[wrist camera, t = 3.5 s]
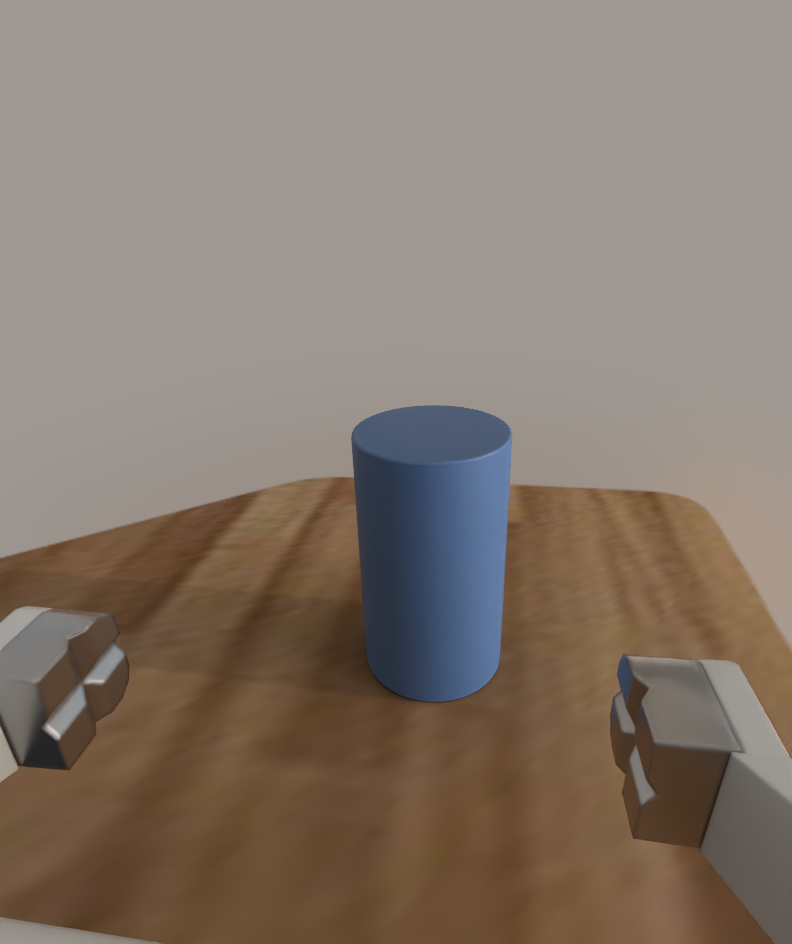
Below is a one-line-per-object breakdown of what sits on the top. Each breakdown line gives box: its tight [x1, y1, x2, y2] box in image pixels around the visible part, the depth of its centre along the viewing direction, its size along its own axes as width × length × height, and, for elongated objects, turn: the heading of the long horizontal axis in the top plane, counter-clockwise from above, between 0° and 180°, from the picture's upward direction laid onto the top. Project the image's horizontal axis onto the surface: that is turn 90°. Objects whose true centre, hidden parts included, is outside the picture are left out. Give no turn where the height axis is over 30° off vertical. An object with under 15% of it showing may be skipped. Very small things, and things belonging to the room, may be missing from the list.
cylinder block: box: [351, 406, 512, 702], centre depth 22 cm, size 6×6×10 cm
